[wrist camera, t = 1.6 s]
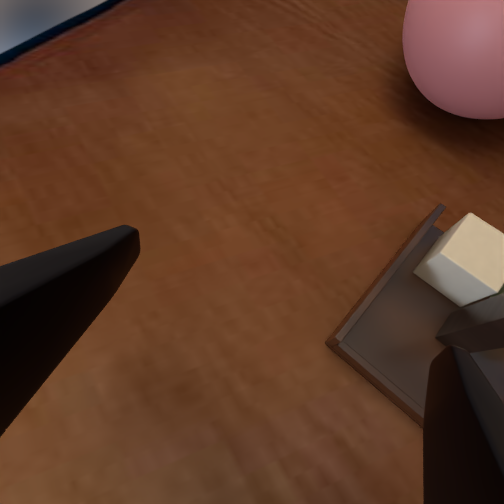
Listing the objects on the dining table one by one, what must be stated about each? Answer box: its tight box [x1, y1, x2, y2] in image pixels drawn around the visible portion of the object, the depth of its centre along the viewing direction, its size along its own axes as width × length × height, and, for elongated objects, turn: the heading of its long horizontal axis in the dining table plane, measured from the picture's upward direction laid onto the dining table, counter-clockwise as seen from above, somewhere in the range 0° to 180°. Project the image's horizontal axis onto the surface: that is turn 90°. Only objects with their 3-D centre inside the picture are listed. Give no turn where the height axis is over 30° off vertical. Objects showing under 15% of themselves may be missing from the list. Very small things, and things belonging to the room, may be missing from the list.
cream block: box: [413, 213, 504, 307], centre depth 23 cm, size 4×4×4 cm
